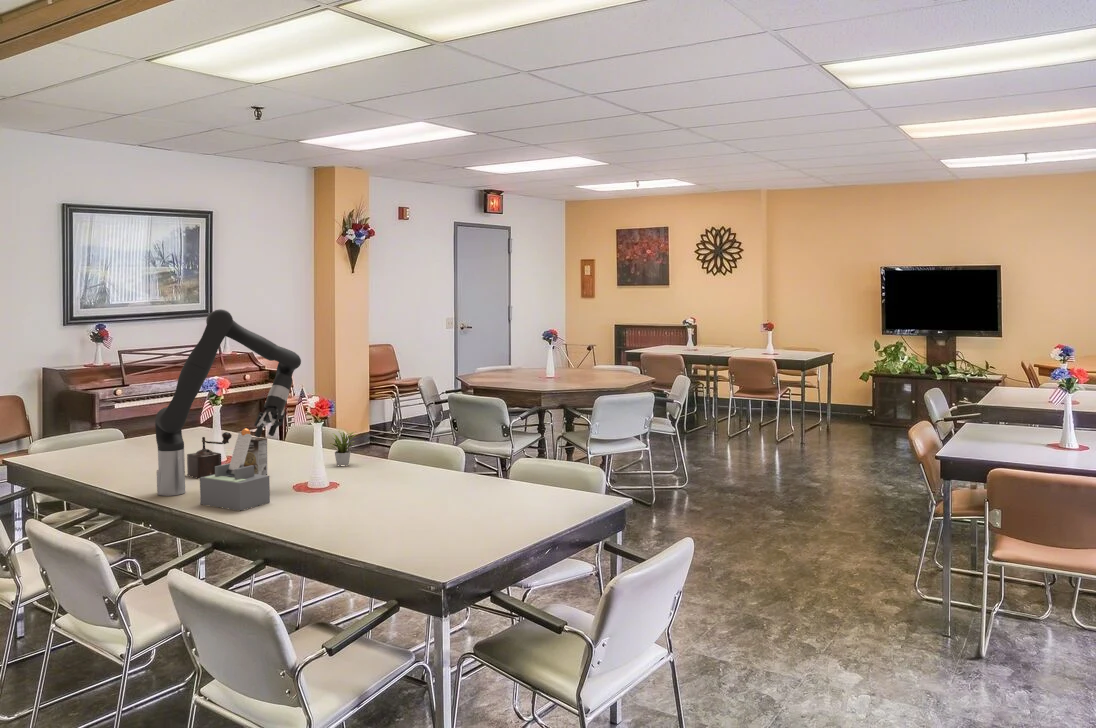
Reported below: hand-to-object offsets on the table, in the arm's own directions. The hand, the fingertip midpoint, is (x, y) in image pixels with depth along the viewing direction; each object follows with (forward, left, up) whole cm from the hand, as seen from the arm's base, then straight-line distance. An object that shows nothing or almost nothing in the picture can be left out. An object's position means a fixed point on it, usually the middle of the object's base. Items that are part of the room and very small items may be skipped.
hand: (263, 435), depth 318 cm
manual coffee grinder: (-29, +31, -22) cm, 48 cm away
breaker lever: (-6, -22, -11) cm, 25 cm away
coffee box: (-10, +27, -22) cm, 36 cm away
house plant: (+26, +45, -22) cm, 57 cm away
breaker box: (-6, -22, -21) cm, 31 cm away
